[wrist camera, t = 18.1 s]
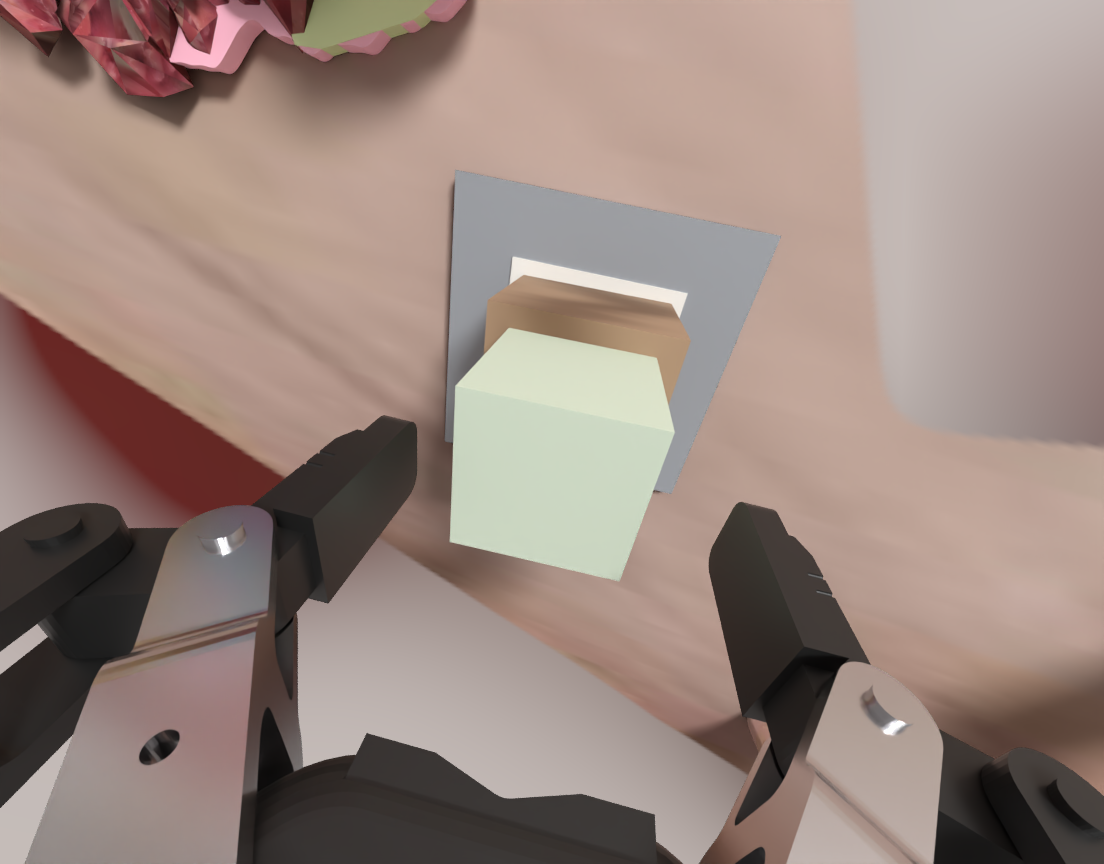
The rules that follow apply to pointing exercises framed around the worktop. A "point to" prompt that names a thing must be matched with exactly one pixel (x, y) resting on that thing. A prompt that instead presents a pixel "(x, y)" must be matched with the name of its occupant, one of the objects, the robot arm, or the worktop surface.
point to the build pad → (605, 278)
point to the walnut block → (591, 321)
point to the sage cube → (557, 451)
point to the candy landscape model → (213, 31)
